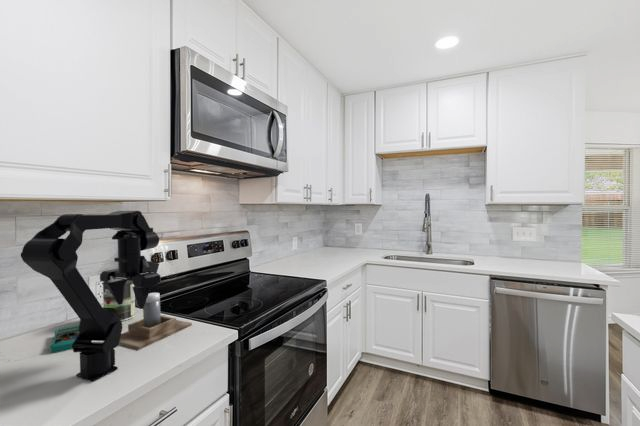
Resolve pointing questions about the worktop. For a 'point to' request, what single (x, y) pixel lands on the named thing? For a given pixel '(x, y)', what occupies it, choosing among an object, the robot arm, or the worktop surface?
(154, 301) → the grey upright cylinder
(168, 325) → the dock
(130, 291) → the coffee can
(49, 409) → the worktop surface
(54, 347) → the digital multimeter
